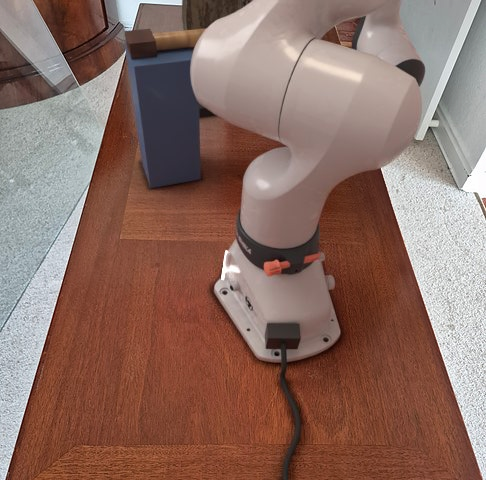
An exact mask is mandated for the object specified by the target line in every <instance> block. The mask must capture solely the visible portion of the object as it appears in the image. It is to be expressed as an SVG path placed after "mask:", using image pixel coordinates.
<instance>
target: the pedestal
mask: <svg viewBox="0 0 486 480" xmlns="http://www.w3.org/2000/svg"><path fill="white" fill-rule="evenodd" d="M123 43H124V49H125V56H126V62H127V69H128V77H129V85H130V91H131V97H132V104H133V111H134V117H135V125H136V132H137V138H138V146H139V152H140V159H141V164H142V167H143V170H144V174H145V177H146V180H147V182H148V185H149V189H154V188H161V187H166V186H172V185H177V184H183V183H187V182H189V183H190V182H194V181H200V180H201V178H202V177H201V176H202V175H201V137H200V136H201V129H200V128H201V127H200V126H201V125H200V124H201V123H200V121H201V120H200V117H199V102H198V101H197V99H196V97H195V94H194V92H193V88H192V84H191V77H190V65H191V59H192V54H193V51H194V49H193V48H192V47H190V48H180V49H171V50H162V51H157V57H148V58H139V59H131V57H130V54H129V52H128V49H127V47H126V40H124V42H123Z"/></svg>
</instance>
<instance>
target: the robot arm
mask: <svg viewBox="0 0 486 480" xmlns="http://www.w3.org/2000/svg"><path fill="white" fill-rule="evenodd" d="M402 2H403V0H253V1H252V2H250V3H249V4H247V5H246V6H245V7H243V8H241V9H240V10H238V11H236V12H234V13H232V14H230V15H228V16H226V17H223V18H220V19H218V20H216V21H215V22H213V23H212V24H211V25H210V26H209V27H208V28H207V29H206V30H205V31H204V32H203V33H202V35H201V36H200V38H199V40H198V41H197V43H196V46H195V48H194V49H193V50H194V51H193V54H192V59H191V65H190V77H191V84H192V88H193V92H194V94H195V97H196V99H197V101H198V102H199V104H200V105H202V106H203V107H205V108H206V109H208V110H209V111H211V112H212V113H214V114H215V115H214V116H217V117H218V118H220V119H222V120H223V121H225V122H227V123H228V124H230V125H232V126H235V127H237V128H240V129H243V130H244V131H248V132H251V133H253V134H255V135H256V134H257V135H260V136H262V137H265V138H267V139H271V140H273V141H276V142H278V143H281V144H282V145H284V146H280V147H276V148H273V149H271V150H267V151H266V152H264V153H262V154H260V155H258V156H257V157H255V158H254V159H253V160H252V161H251V162H250V163H249V164H248V166H247V168H246V169H245V172H244V174H243V178H242V189H241V201H240V208H239V209H238V212H237V215H236V216H237V217H236V219H235V220H236V221H235V239H234V240H233V242H232V243H231V245H230V247H229V248H228V250H225V252H224V258H223V264H222V265H223V267H222V272H221V277H220V278H219V279H218V280H217V281H216V282H215V284H214V286H213V293H214V295H215V296H216V298H217V300H218V301H219V302H220V304H221V305H222V307H223V309H224V310H225V311H226V313H227V315H228V316H229V318H230V320H231V321H232V322H233V324H234V326H235V327H236V329H237V330H238V331H239V333H240V334H241V336H242V338H243V339H244V341H245V342H246V344H247V346H248V347H249V348H250V350H251V352H252V353H253V355H254V357H256V358H257V359H258V360H260V361H262V362H267V363H273V364H274V363H280V364H281V365H280V366H281V368H280V372H279V381H280V384H281V388H282V391H283V392H284V395H285V397H286V399H287V401H288V404H289V406H290V408H291V410H292V414H293V417H294V425H295V430H294V434H293V437H292V440H291V442H290V445H289V447H288V449H287V452H286V453H285V455H284V456H285V457H284V459H283V464H282V470H281V478H282V479H281V480H289V467H290V462H291V459H292V457H293V454H294V452H295V450H296V448H297V446H298V443H299V440H300V436H301V432H302V431H301V430H302V421H301V420H302V419H301V416H300V411H299V409H298V407H297V404H296V401H295V400H294V398H293V396H292V393H291V392H290V389H289V387H288V383H287V379H286V373H287V371H288V369H287V368H288V363H289V362H297V361H300V360H305V359H307V358H310V357H313V356H316V355H318V354H320V353H322V352H325V351H326V350H328V349H330V348H331V347H333V345H334V344H335V343H336V342H337V341H338V340H339V339H340V337H341V328H340V325H339V321H338V318H337V314H336V311H335V308H334V304H333V301H332V298H331V295H330V291H331V290H334V289H335V286H336V281H335V277H334V275H332V274H327V275H325V270H324V266H323V261H325V259H326V257H325V256H326V255H325V252H324V251H320V239H321V230H320V218H321V216H322V212H323V210H324V206H325V204H326V201H327V199H328V197H329V196H330V193H331V192H332V190H333V189H334V188H335V187H336V186H338V185H339V184H340V183H342V182H343V181H345V180H346V179H348V178H350V177H353V176H355V175H358V174H361V173H365V172H369V171H376V170H379V169H382V168H384V167H386V166H388V165H389V164H391V163H392V162H394V161H395V160H397V159H398V158H399V157H401V156H402V155H403V153H404V152H405V151H406V150H407V149H408V148H409V146H410V145H411V143H412V141H413V140H414V139H415V136H416V134H417V131H418V130H419V127H420V123H421V119H422V112H423V100H422V92H421V90H420V89H421V88H420V87H421V85H422V84H423V81H424V79H425V75H426V66H425V64H424V62H423V60H422V58H421V57H420V55H419V53H418V51H417V49H416V47H415V46H414V45H413V43H412V41H411V40H410V38H409V36H408V34H407V33H406V31H405V28H404V26H403V24H402V21H401V16H400V9H401V6H402ZM359 18H360V21H359V22H358V25H356V29H355V30H354V34H353V35H352V39H351V47H348V46H344V45H341V44H337V43H335V42H331V41H328V40H324V39H322V38H323V37H324V36H325V35H326V34H327V33H329V31H330V30H332V29H333V28H335V27H336V26H337V25H339V24H342V23H344V22H347V21H351V20H355V19H359ZM275 354H277V355H275Z"/></svg>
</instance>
